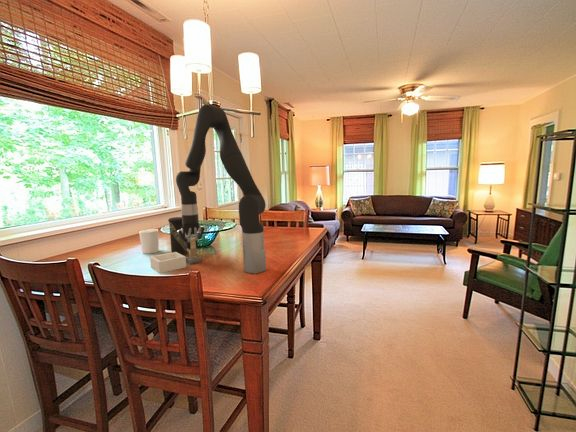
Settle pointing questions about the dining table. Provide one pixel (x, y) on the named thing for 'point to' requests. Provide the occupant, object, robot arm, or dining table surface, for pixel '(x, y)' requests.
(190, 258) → the tan column with base
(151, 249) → the candle holder
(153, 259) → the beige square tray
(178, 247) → the container
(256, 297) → the dining table surface
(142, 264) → the dining table surface
